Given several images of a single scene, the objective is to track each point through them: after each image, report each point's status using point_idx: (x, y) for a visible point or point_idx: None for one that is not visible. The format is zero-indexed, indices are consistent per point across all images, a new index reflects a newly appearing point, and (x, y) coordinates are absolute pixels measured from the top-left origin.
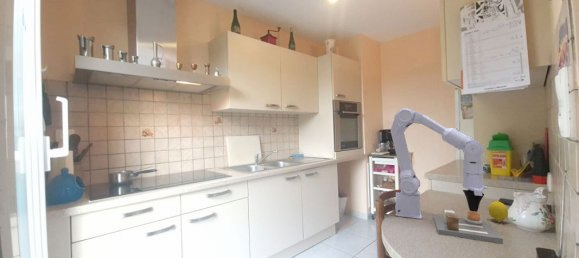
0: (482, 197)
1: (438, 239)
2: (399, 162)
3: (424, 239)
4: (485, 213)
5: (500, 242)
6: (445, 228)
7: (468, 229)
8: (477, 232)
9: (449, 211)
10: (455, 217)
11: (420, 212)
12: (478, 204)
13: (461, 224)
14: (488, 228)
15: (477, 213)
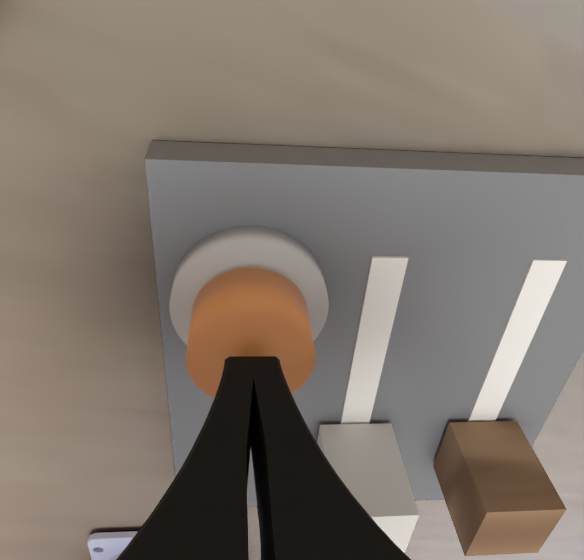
0: (395, 546)
1: (569, 472)
2: None
3: (572, 514)
4: None
5: None
6: None
7: (474, 363)
8: (536, 322)
9: None
10: (545, 521)
11: (104, 541)
12: (311, 437)
13: (370, 389)
14: (414, 214)
15: (250, 328)
